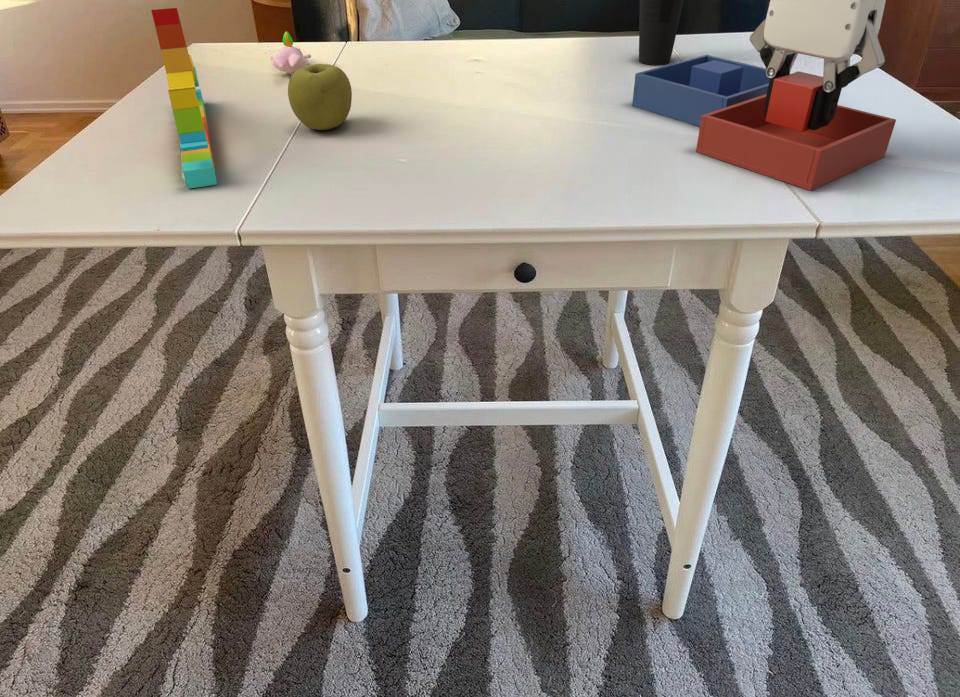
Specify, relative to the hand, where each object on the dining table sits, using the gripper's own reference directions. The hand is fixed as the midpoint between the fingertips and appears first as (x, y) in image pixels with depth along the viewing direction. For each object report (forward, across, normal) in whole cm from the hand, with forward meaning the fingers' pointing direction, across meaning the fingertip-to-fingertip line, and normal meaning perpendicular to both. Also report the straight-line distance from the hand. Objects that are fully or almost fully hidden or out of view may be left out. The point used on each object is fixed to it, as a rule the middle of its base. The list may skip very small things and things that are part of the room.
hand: (796, 119), depth 78 cm
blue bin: (+4, +16, -7) cm, 18 cm away
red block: (0, 0, 0) cm, 0 cm away
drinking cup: (+4, +36, -19) cm, 41 cm away
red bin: (+4, 0, 0) cm, 4 cm away
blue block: (+3, +16, -7) cm, 18 cm away
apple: (+4, +42, +35) cm, 55 cm away
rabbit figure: (+4, +68, +27) cm, 73 cm away
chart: (+4, +48, +49) cm, 69 cm away
